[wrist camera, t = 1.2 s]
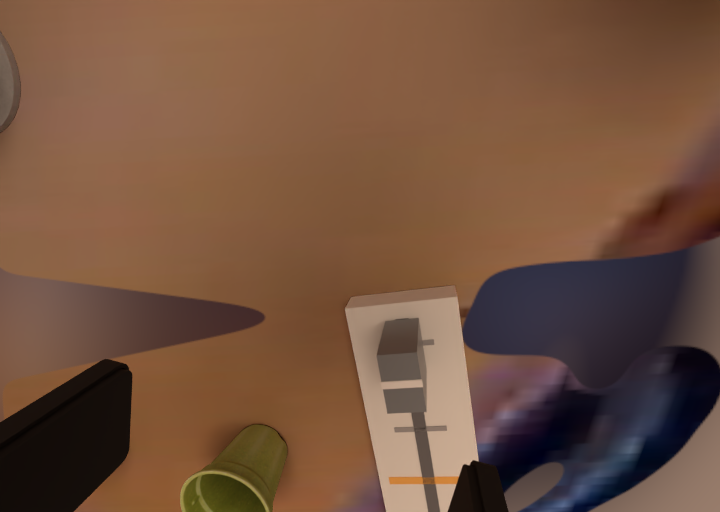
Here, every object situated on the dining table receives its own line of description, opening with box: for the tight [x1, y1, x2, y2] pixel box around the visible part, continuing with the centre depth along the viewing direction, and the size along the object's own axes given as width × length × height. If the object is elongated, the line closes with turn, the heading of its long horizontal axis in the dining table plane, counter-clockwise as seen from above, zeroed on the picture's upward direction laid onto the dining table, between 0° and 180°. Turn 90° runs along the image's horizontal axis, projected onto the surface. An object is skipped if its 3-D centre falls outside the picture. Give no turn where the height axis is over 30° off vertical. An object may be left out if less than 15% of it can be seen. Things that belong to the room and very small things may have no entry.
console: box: [345, 285, 479, 512], centre depth 37 cm, size 10×26×3 cm, turn 10°
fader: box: [376, 318, 427, 414], centre depth 31 cm, size 3×5×6 cm, turn 11°
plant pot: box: [180, 424, 287, 512], centre depth 39 cm, size 9×9×9 cm
